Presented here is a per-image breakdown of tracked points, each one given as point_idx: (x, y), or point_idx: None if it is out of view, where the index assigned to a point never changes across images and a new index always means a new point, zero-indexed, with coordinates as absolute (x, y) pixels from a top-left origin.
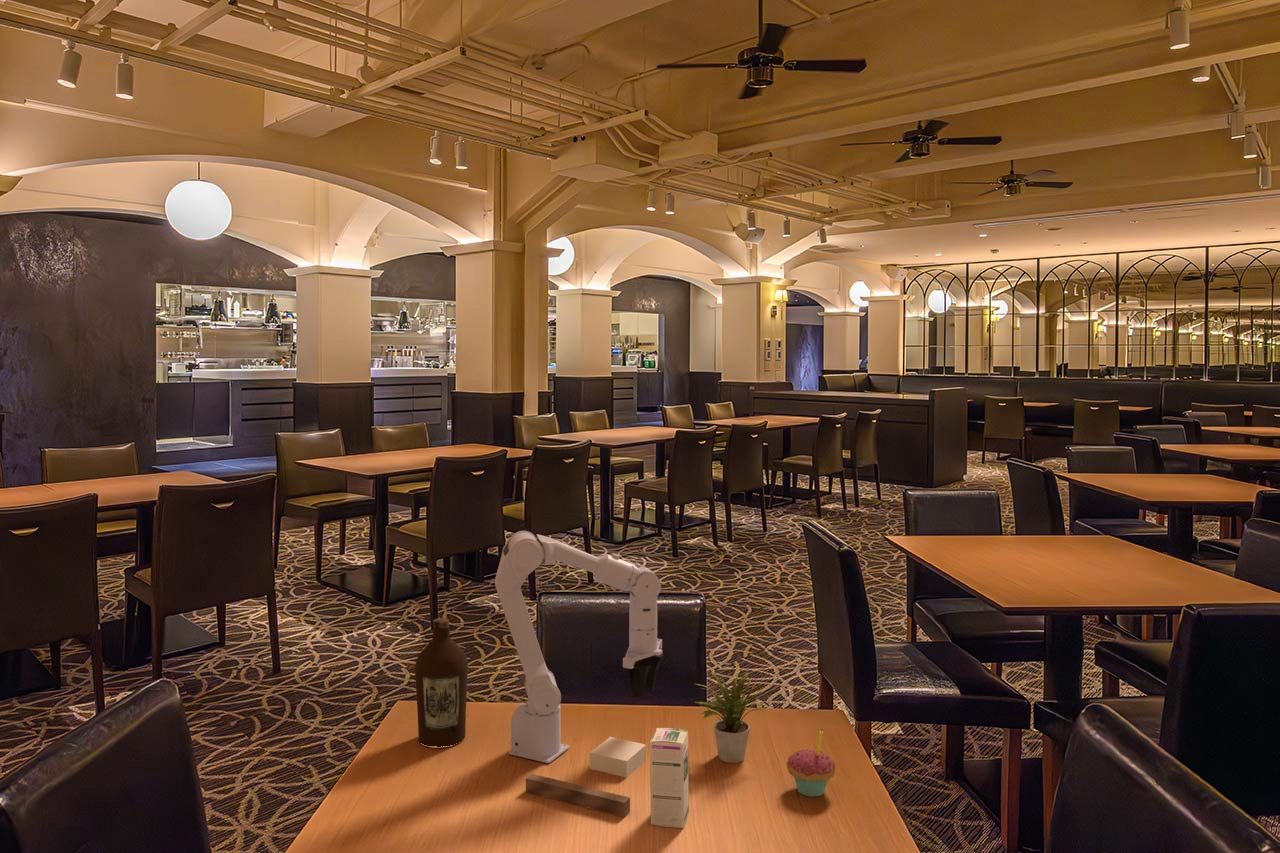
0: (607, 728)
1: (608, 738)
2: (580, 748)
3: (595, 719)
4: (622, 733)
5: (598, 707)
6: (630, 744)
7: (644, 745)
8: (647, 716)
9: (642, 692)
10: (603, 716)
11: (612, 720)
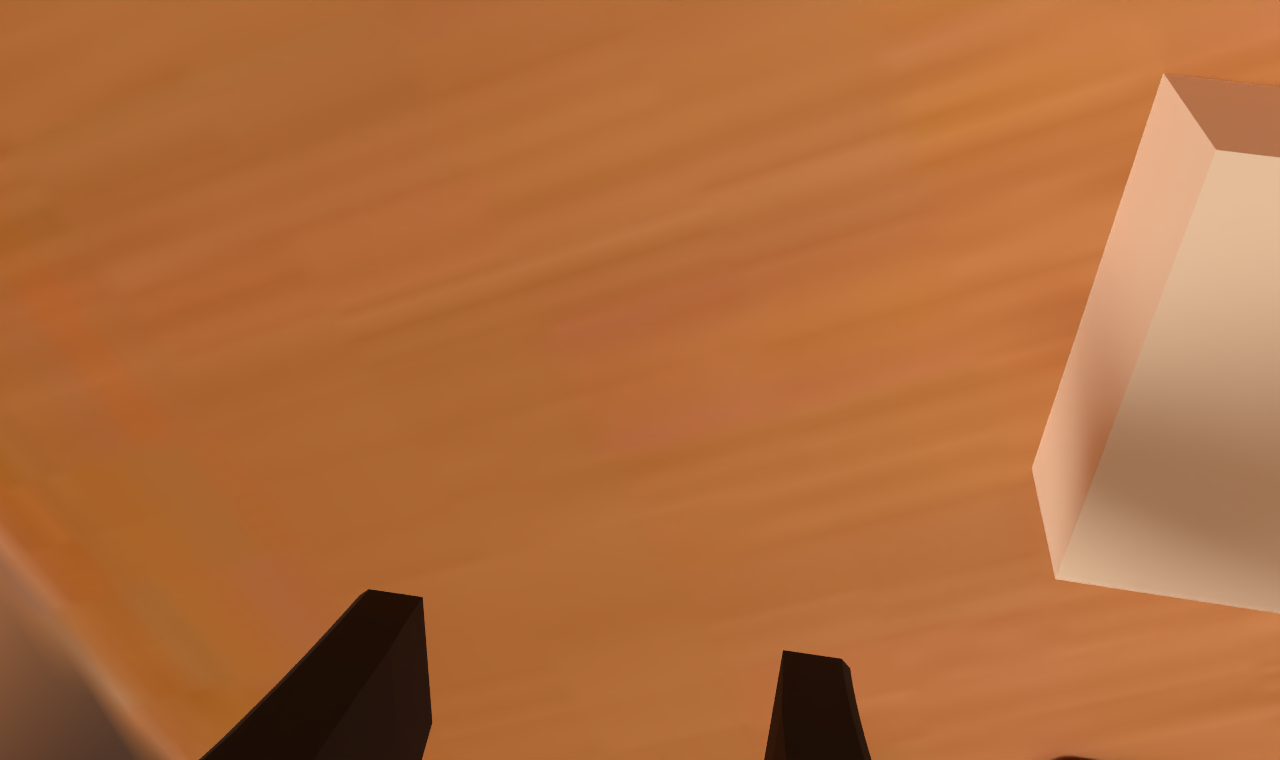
0: (538, 611)
1: (1108, 584)
2: (1015, 690)
3: None
4: (578, 482)
5: None
6: (1241, 335)
7: (1252, 161)
8: (109, 386)
9: (865, 740)
10: None
11: None
